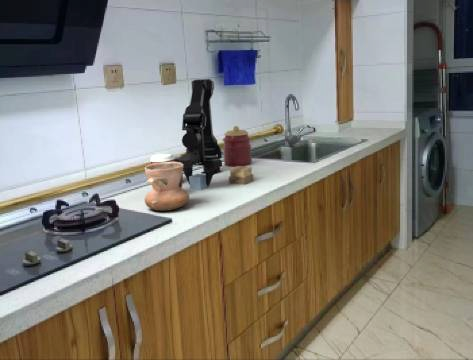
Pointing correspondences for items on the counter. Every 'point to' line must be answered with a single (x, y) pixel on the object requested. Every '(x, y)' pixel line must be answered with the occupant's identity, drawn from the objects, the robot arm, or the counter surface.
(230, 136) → the canister
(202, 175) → the block
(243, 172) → the tower mid
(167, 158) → the coffee cup
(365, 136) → the counter surface
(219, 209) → the counter surface
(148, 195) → the ceramic jug
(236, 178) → the tower base
